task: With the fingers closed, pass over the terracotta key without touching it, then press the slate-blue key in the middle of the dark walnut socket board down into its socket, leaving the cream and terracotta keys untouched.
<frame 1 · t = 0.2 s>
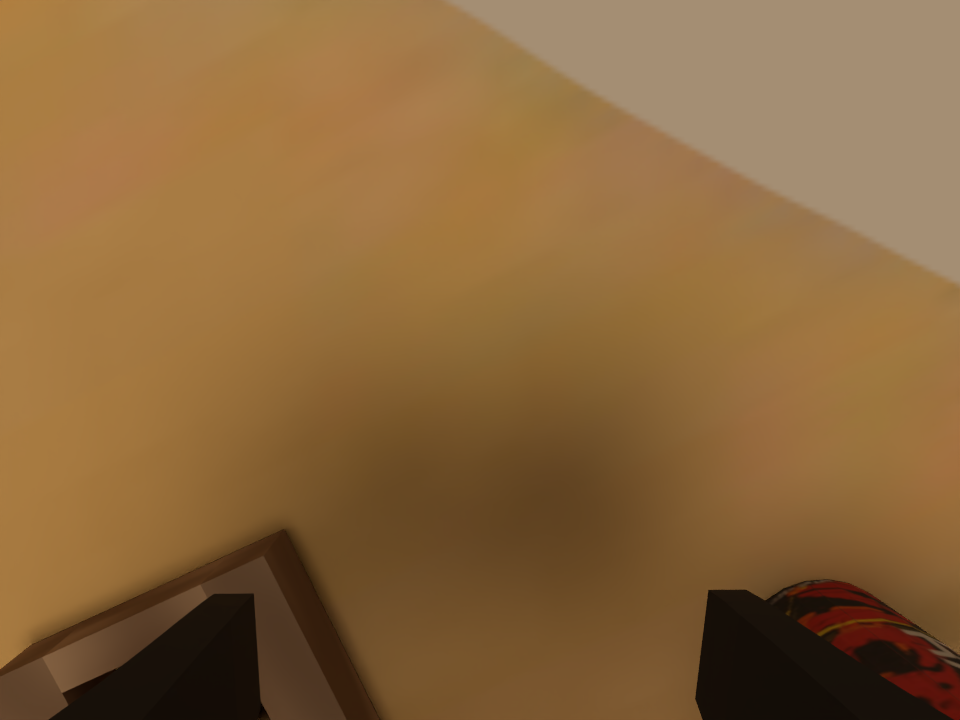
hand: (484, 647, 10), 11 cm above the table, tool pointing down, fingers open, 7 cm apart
deodorant: (815, 660, 22), on the table
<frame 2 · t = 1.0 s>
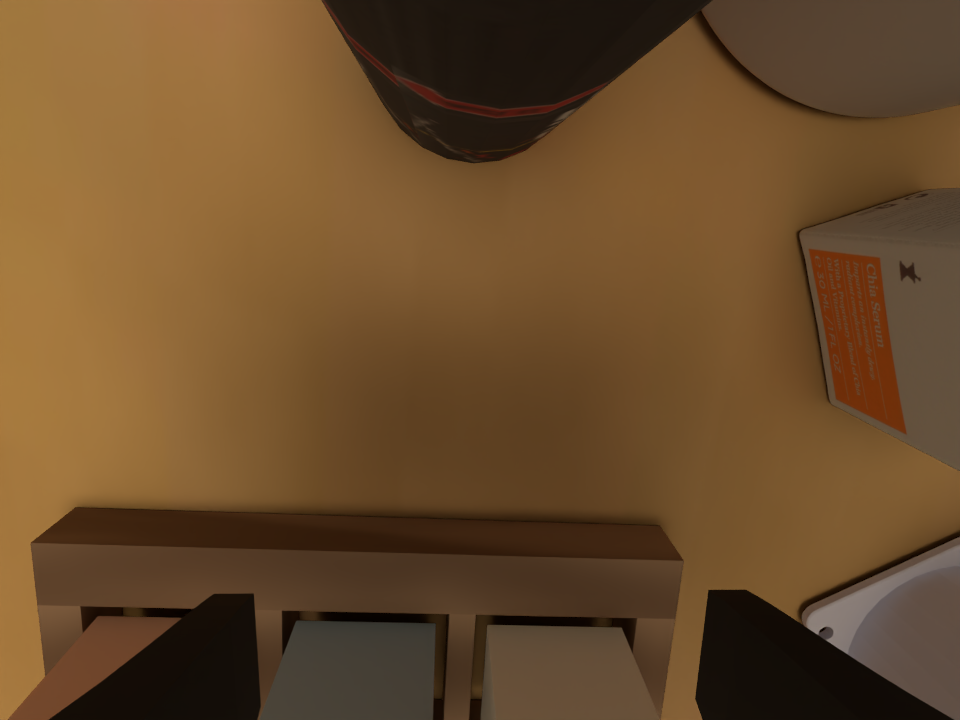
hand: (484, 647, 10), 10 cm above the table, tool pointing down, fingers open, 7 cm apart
skincare box: (869, 302, 20), on the table
deodorant: (475, 54, 18), on the table
socket board: (373, 636, 22), on the table
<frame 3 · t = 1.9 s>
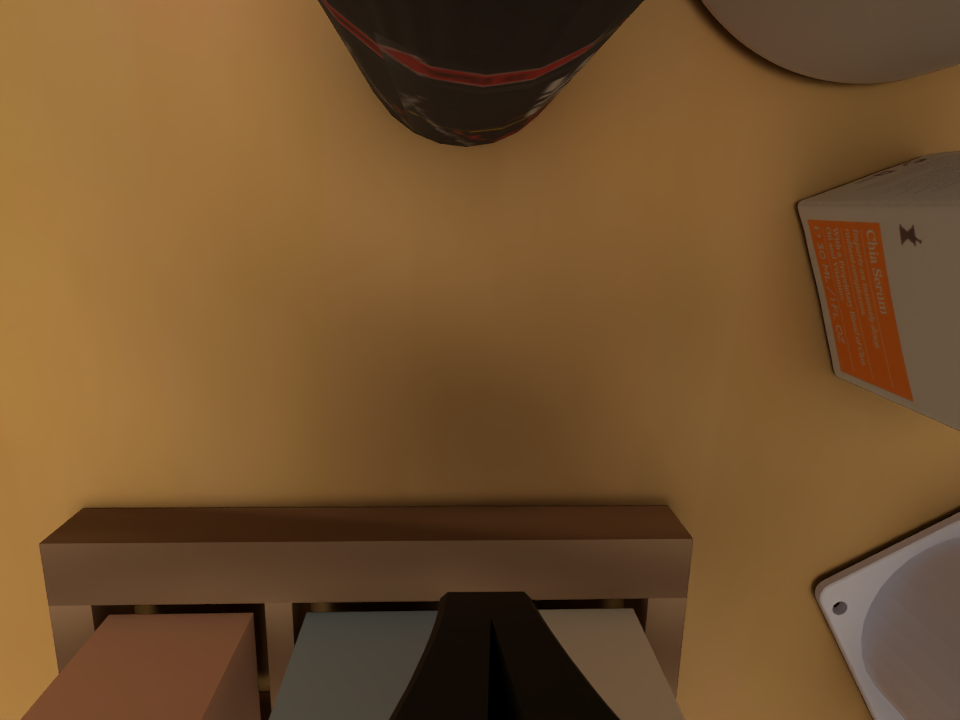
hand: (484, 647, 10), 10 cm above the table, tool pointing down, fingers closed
skincare box: (870, 272, 20), on the table
deodorant: (463, 36, 18), on the table
socket board: (384, 627, 22), on the table
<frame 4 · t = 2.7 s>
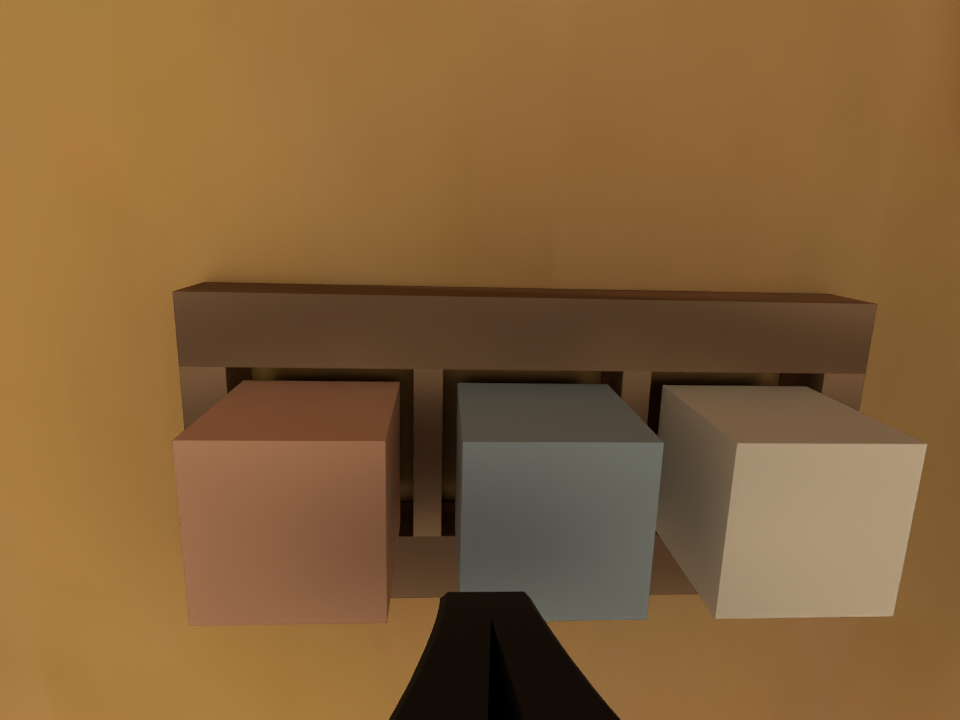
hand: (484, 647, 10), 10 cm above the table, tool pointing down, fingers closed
terracotta key: (307, 488, 15), point 4 cm above the table, slide at 0.0 cm
slate blue key: (542, 488, 16), point 4 cm above the table, slide at 0.0 cm
socket board: (520, 429, 20), on the table
cream key: (766, 488, 16), point 4 cm above the table, slide at 0.0 cm
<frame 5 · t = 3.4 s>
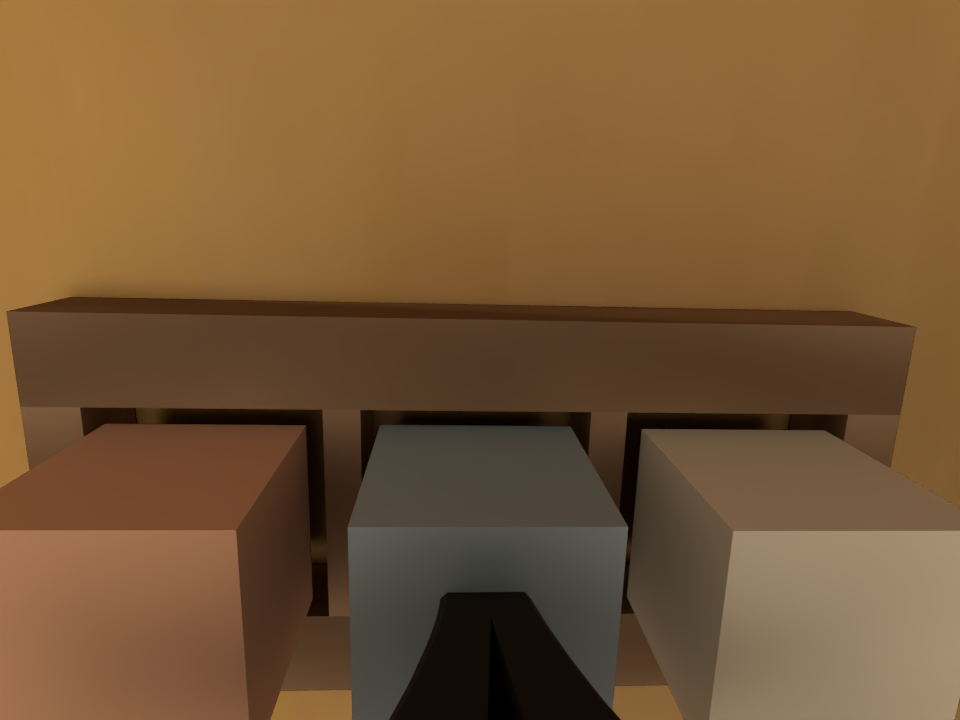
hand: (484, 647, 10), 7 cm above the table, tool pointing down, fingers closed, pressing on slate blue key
terracotta key: (168, 572, 12), point 4 cm above the table, slide at 0.0 cm
slate blue key: (478, 568, 12), point 4 cm above the table, slide at 0.1 cm, touching gripper
socket board: (470, 477, 16), on the table
cream key: (773, 570, 12), point 4 cm above the table, slide at 0.0 cm
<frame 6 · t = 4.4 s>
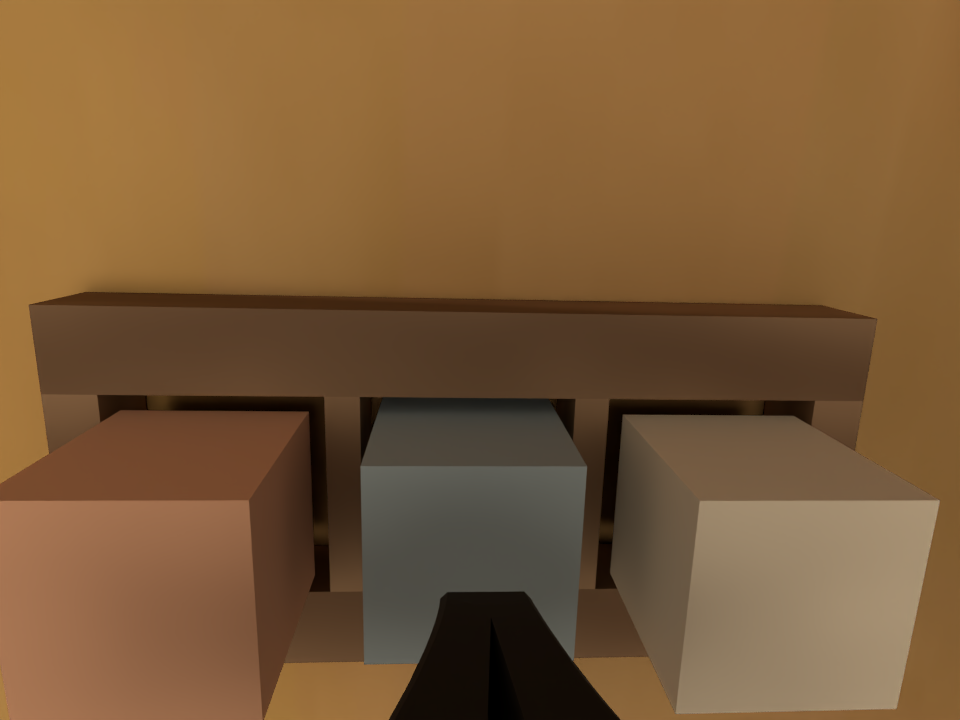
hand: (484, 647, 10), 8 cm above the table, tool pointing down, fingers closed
terracotta key: (182, 546, 13), point 4 cm above the table, slide at 0.0 cm
slate blue key: (467, 512, 14), point 3 cm above the table, slide at 1.4 cm
socket board: (463, 462, 17), on the table
cream key: (742, 543, 13), point 4 cm above the table, slide at 0.0 cm
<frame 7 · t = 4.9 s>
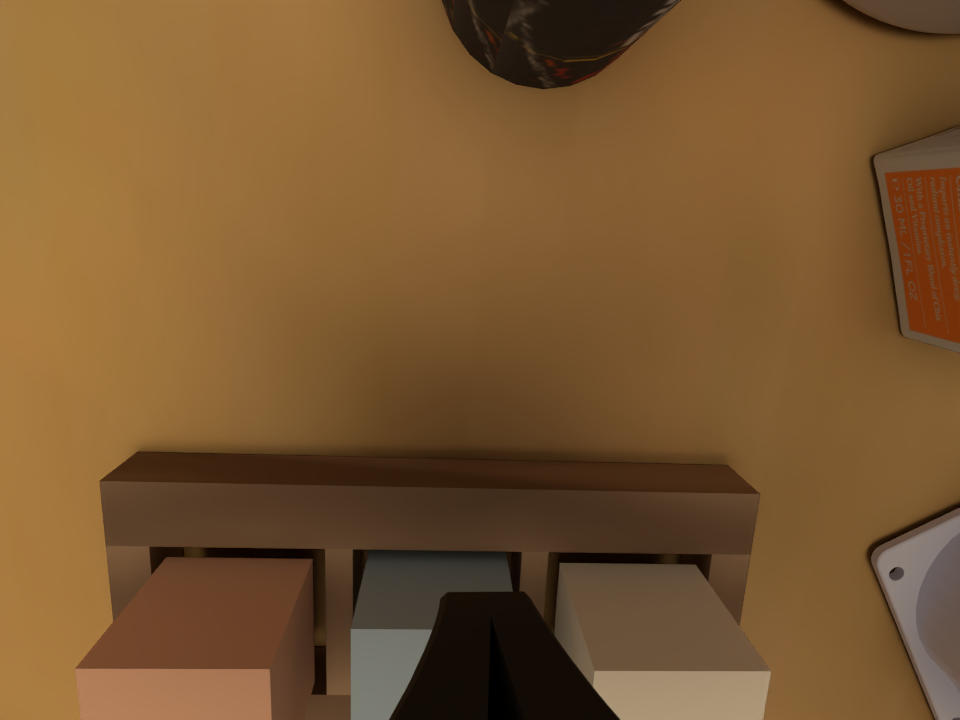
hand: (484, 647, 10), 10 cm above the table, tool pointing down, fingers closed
skincare box: (941, 231, 20), on the table
terracotta key: (215, 675, 17), point 4 cm above the table, slide at 0.0 cm
slate blue key: (435, 641, 18), point 3 cm above the table, slide at 1.4 cm
socket board: (436, 583, 21), on the table
cream key: (644, 677, 17), point 4 cm above the table, slide at 0.0 cm
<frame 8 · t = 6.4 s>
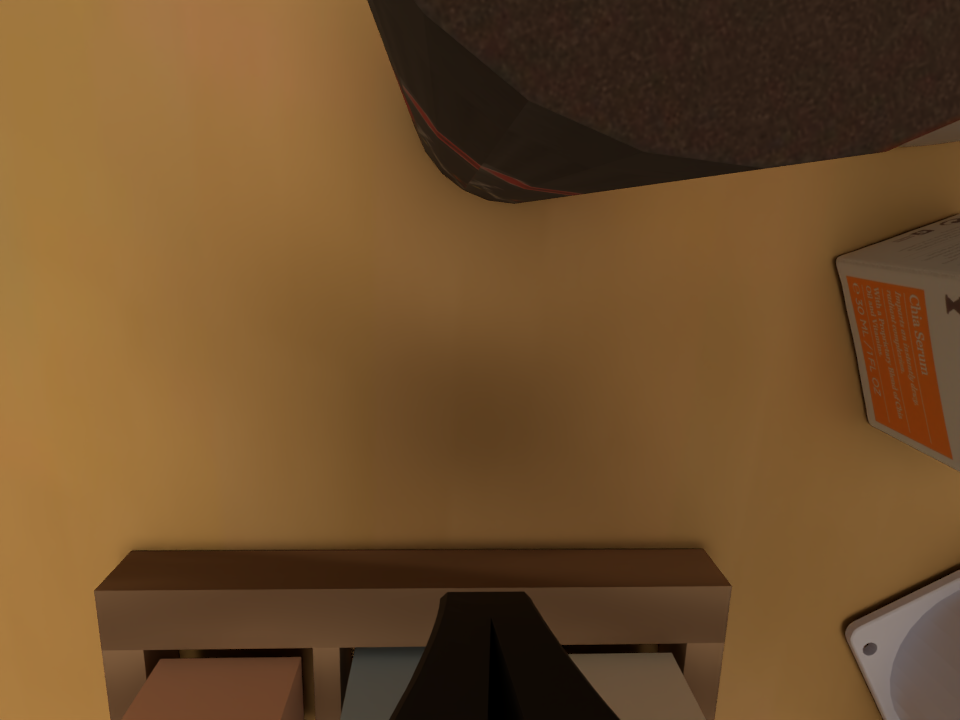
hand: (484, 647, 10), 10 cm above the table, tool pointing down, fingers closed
skincare box: (905, 324, 20), on the table
deodorant: (513, 97, 18), on the table
socket board: (423, 666, 22), on the table
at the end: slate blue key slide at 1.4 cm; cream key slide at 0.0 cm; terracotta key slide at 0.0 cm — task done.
